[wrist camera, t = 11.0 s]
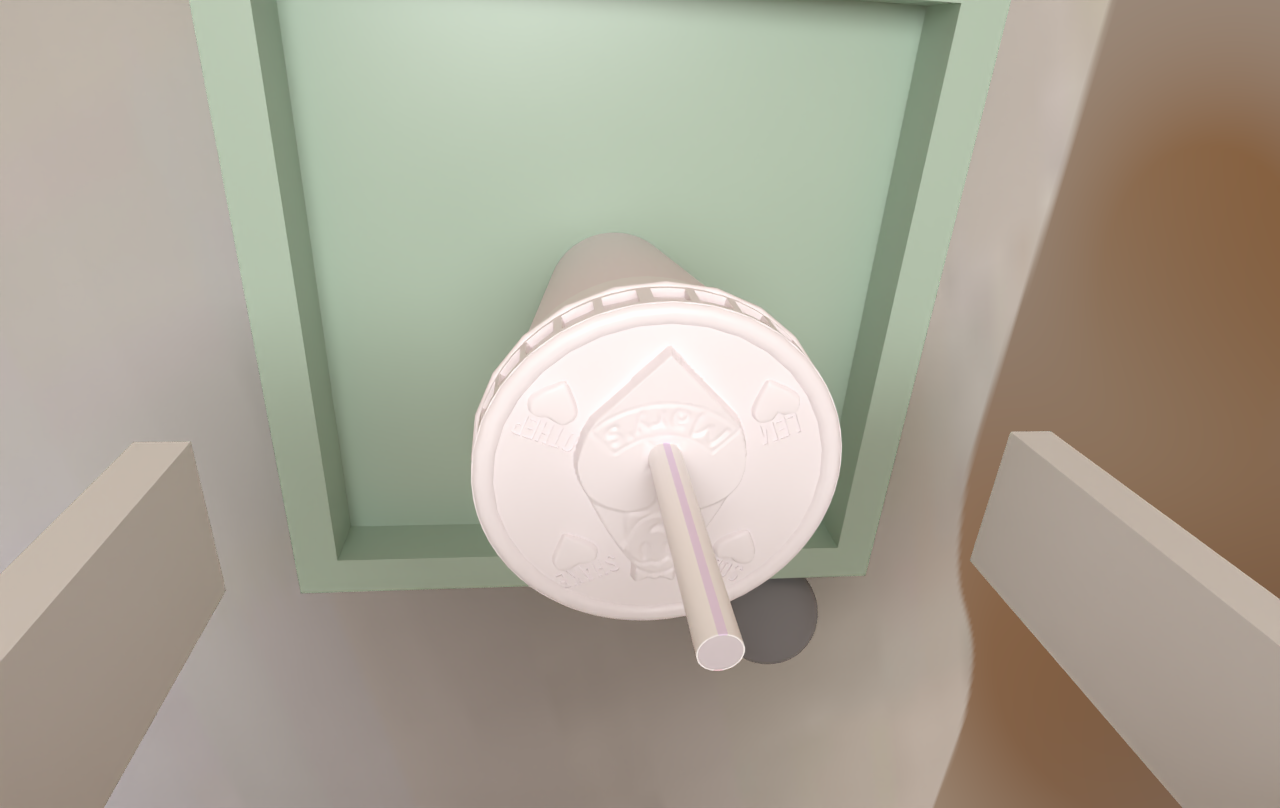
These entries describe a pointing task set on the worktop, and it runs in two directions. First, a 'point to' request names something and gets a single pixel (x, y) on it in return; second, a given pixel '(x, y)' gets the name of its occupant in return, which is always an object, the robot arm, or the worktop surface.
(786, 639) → the gray ball
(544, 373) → the smoothie
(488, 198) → the tray
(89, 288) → the worktop surface
